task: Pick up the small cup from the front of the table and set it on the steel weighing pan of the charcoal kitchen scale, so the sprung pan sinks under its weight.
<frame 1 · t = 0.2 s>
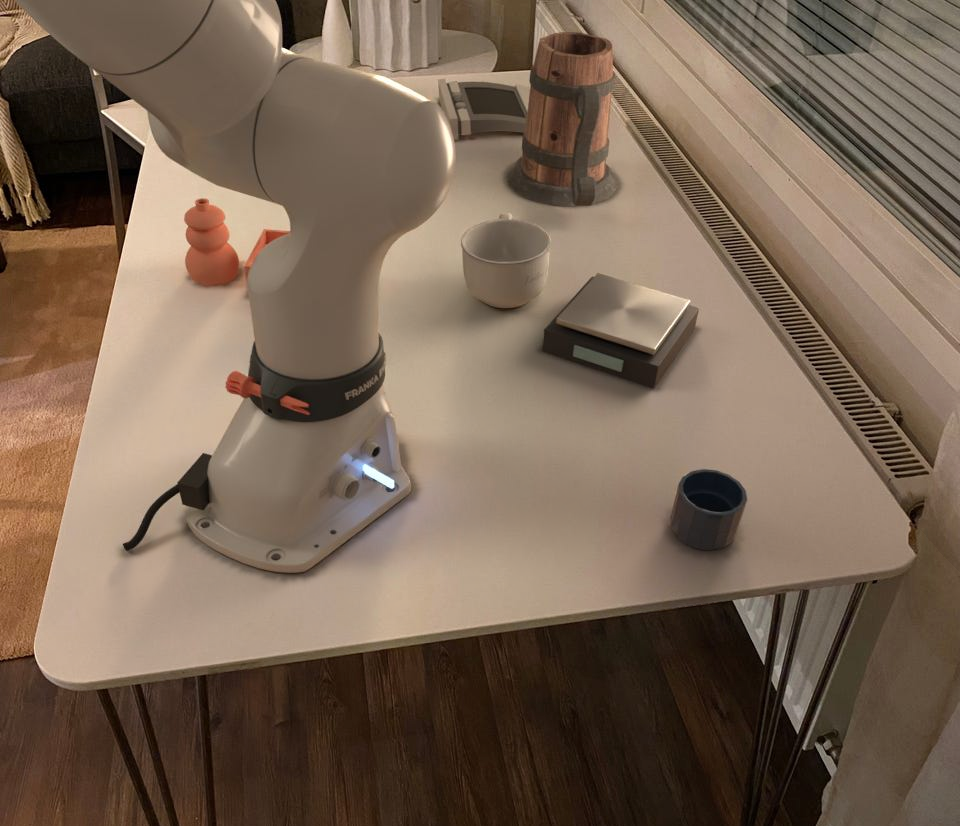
scale: (619, 340, 115), on the table
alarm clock: (491, 119, 163), on the table
cup: (702, 529, 92), on the table
tankard: (566, 191, 144), on the table
scale pan: (624, 311, 113), point 4 cm above the table, slide at 0.0 cm
pottery: (258, 278, 123), on the table
teacup: (504, 290, 123), on the table
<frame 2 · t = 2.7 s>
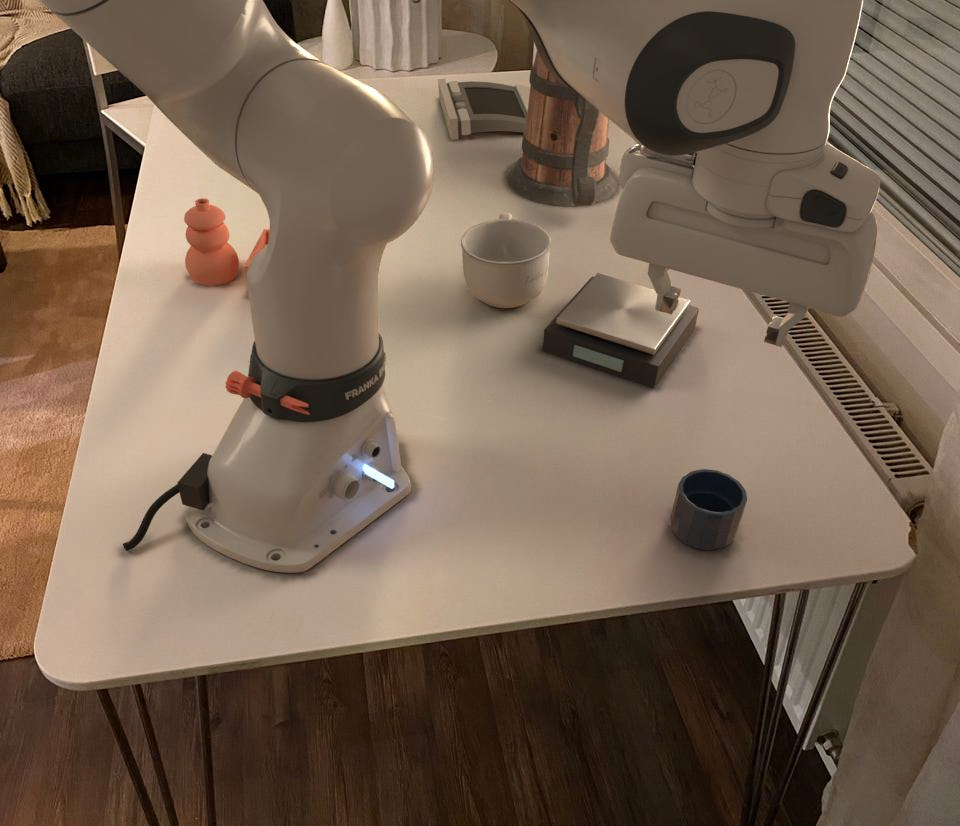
hand: (719, 325, 81), 21 cm above the table, tool pointing down, fingers open, 8 cm apart
nothing on the table moved.
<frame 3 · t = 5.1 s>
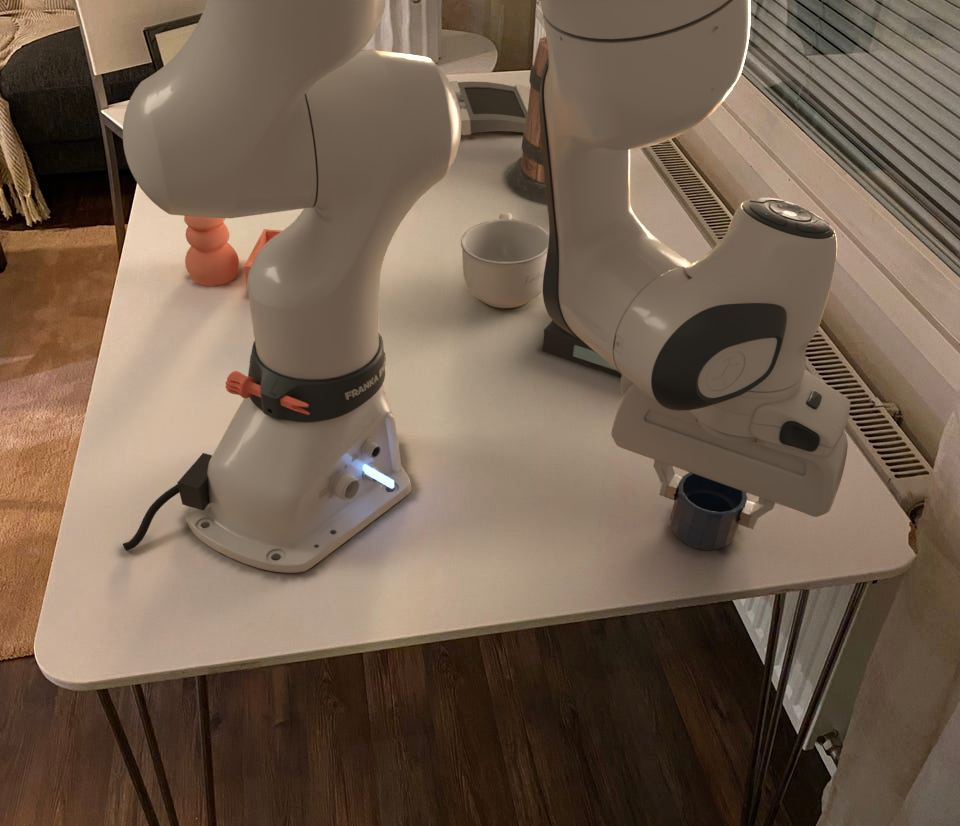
hand: (708, 508, 90), 3 cm above the table, tool pointing down, fingers closed on cup, 6 cm apart
cup: (702, 529, 92), on the table, touching gripper
everything else where it was.
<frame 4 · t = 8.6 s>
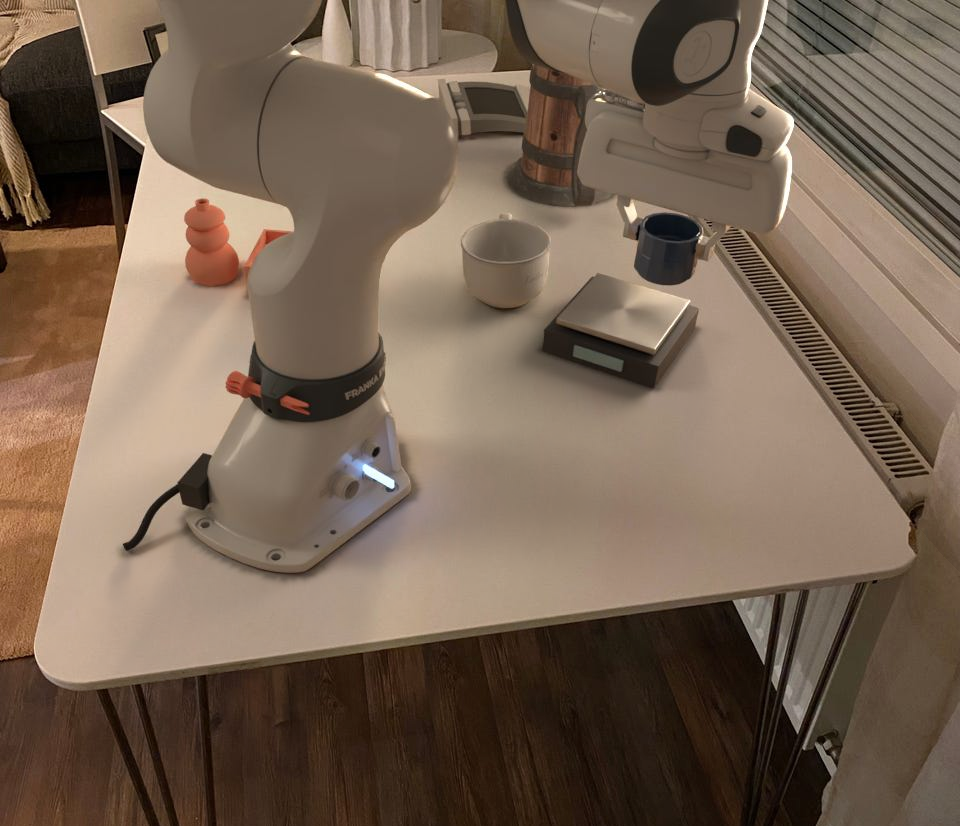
hand: (667, 247, 97), 17 cm above the table, tool pointing down, fingers closed on cup, 6 cm apart
cup: (663, 271, 99), point 14 cm above the table, touching gripper
everything else where it was.
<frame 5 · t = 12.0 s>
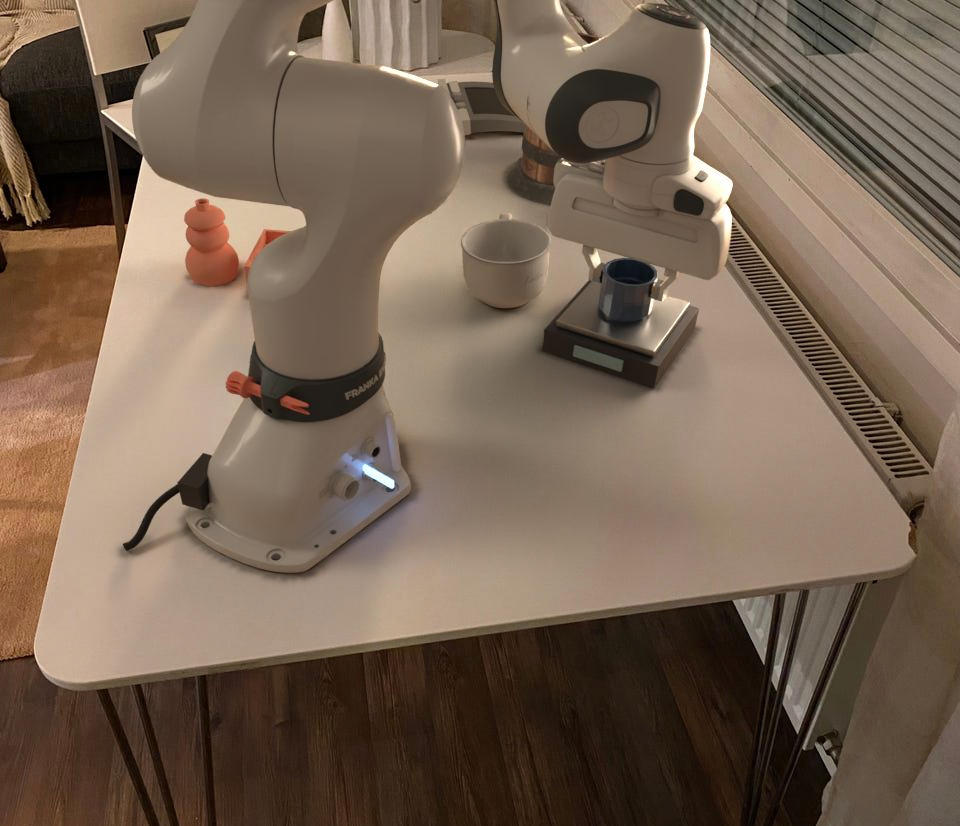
hand: (627, 288, 111), 7 cm above the table, tool pointing down, fingers closed on cup, 6 cm apart
cup: (624, 309, 113), point 4 cm above the table, touching gripper, scale pan
scale pan: (624, 314, 113), point 4 cm above the table, slide at -0.3 cm, touching cup
everything else where it was.
when the fingers open (7 cm above the table, at t = 12.3 s): cup stays where it is, resting on scale pan.
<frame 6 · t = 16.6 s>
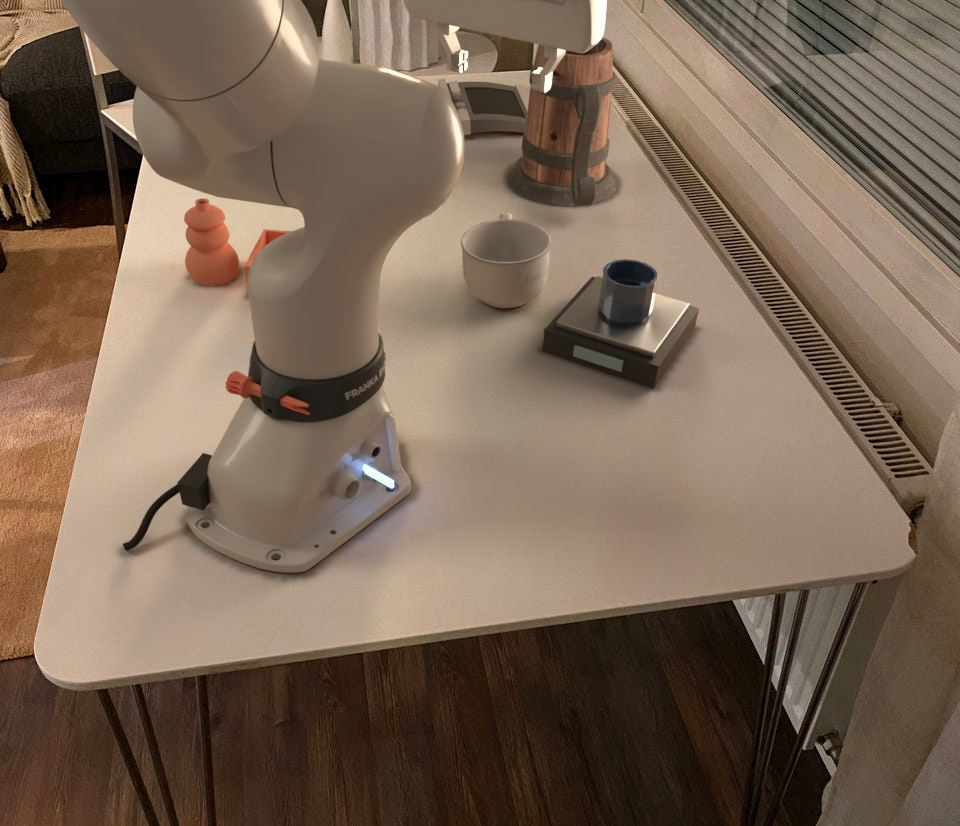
hand: (498, 80, 97), 29 cm above the table, tool pointing down, fingers open, 8 cm apart
cup: (624, 310, 113), point 4 cm above the table, touching scale pan
everything else where it was.
at the end: cup inside the target area on the scale (0.3 cm from its centre), point 3.9 cm above the scale's base; cup tilted 0°; scale pan slide at -0.4 cm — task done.
